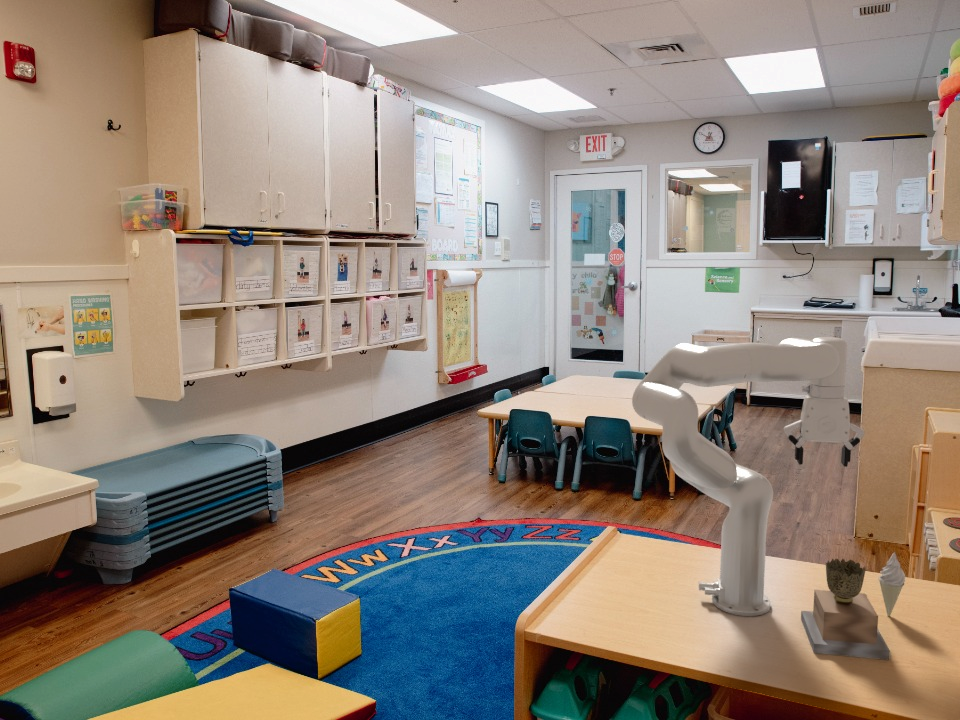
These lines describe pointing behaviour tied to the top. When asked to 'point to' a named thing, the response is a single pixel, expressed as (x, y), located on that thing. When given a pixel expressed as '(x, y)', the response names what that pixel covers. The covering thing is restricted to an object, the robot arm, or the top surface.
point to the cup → (844, 579)
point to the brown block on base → (844, 627)
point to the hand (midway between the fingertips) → (821, 463)
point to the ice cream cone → (891, 583)
